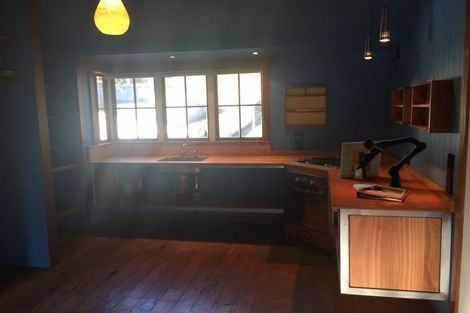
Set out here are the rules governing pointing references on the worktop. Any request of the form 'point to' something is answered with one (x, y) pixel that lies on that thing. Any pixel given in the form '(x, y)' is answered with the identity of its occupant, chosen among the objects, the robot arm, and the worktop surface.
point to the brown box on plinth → (358, 173)
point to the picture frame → (357, 160)
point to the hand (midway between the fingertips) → (356, 168)
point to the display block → (362, 186)
